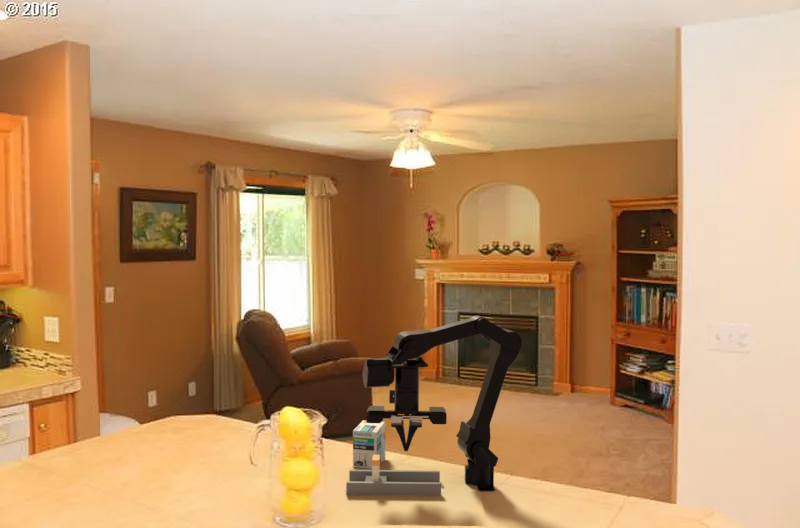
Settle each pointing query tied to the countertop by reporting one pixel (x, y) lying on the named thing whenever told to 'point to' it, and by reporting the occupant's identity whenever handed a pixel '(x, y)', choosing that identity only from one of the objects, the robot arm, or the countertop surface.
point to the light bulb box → (368, 443)
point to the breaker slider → (376, 471)
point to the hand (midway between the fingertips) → (406, 450)
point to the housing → (395, 483)
